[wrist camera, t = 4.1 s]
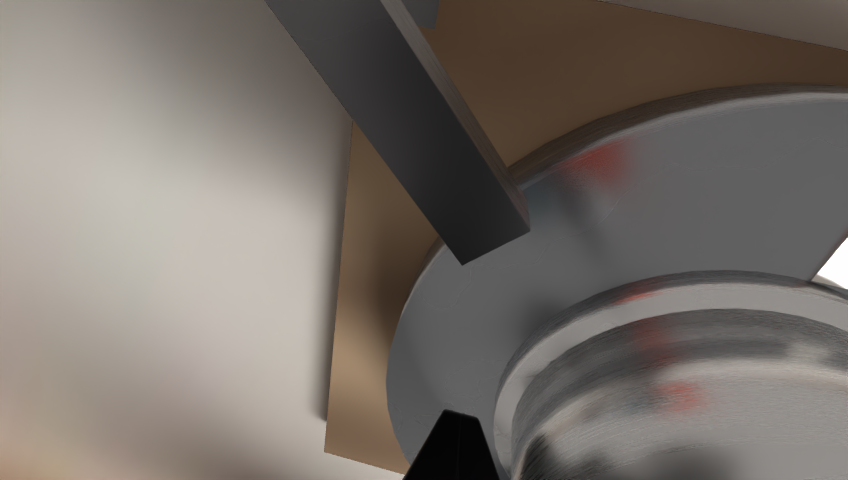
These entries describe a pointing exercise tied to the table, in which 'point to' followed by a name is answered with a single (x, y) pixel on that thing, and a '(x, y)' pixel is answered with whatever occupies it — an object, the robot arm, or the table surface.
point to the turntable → (628, 232)
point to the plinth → (517, 150)
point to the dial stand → (412, 115)
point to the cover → (682, 383)
